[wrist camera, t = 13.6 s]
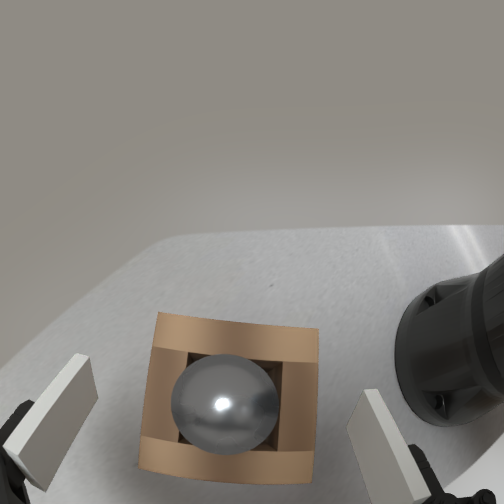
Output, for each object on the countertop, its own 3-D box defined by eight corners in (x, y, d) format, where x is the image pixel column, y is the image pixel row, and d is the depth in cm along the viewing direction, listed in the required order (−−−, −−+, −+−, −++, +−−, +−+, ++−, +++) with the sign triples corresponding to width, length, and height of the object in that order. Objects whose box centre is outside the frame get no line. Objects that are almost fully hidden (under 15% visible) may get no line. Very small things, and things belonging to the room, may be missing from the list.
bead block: (295, 347, 23) (318, 328, 18) (288, 465, 18) (311, 482, 12) (172, 335, 22) (158, 311, 17) (158, 453, 17) (137, 468, 12)
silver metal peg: (250, 382, 21) (281, 358, 11) (247, 431, 19) (276, 457, 9) (199, 378, 21) (177, 347, 10) (194, 426, 19) (166, 447, 8)
